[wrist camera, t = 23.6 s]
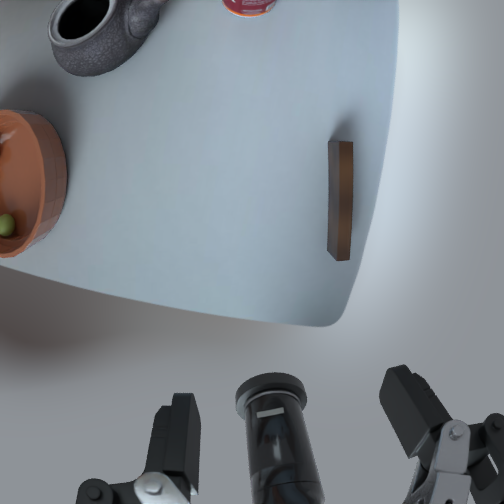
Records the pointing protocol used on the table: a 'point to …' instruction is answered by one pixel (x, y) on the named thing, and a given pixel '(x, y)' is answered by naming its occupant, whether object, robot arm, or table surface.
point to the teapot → (100, 33)
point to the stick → (340, 199)
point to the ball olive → (6, 225)
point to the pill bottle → (248, 7)
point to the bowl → (29, 178)
